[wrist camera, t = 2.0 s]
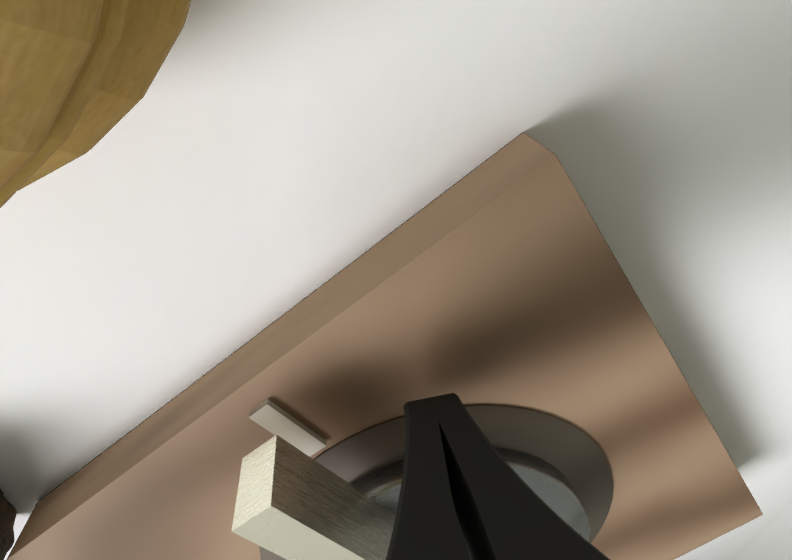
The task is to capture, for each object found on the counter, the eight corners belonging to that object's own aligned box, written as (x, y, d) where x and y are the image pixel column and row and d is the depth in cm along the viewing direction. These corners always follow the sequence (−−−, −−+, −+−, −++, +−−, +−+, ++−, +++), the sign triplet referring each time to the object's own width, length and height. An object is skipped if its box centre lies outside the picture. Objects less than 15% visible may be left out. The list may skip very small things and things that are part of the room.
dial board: (728, 474, 22) (766, 518, 20) (387, 655, 27) (392, 705, 25) (523, 132, 13) (559, 157, 11) (37, 502, 17) (3, 566, 15)
